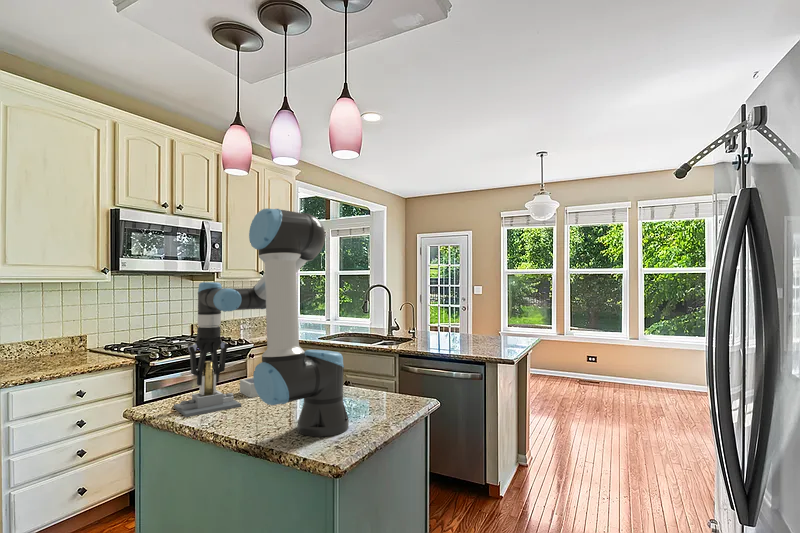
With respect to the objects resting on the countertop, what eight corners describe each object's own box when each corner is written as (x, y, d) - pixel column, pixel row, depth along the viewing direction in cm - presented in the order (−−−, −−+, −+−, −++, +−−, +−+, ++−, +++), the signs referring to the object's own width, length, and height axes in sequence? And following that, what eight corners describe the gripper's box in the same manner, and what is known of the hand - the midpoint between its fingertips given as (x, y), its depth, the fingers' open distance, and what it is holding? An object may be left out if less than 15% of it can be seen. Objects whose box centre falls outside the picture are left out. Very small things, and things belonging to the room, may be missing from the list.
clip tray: (293, 389, 174) (293, 377, 174) (250, 397, 162) (250, 384, 162) (282, 385, 181) (282, 373, 181) (239, 392, 169) (239, 379, 169)
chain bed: (240, 406, 150) (241, 393, 150) (185, 417, 138) (185, 403, 138) (226, 398, 161) (226, 386, 161) (173, 407, 149) (174, 394, 149)
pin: (213, 396, 150) (214, 361, 150) (204, 398, 147) (205, 363, 148) (210, 394, 152) (211, 360, 152) (201, 396, 150) (202, 361, 150)
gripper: (228, 323, 159) (227, 387, 158) (181, 326, 148) (179, 395, 147) (236, 325, 153) (234, 391, 152) (187, 328, 142) (185, 400, 142)
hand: (207, 393), depth 150 cm, fingers closed on pin, 3 cm apart
